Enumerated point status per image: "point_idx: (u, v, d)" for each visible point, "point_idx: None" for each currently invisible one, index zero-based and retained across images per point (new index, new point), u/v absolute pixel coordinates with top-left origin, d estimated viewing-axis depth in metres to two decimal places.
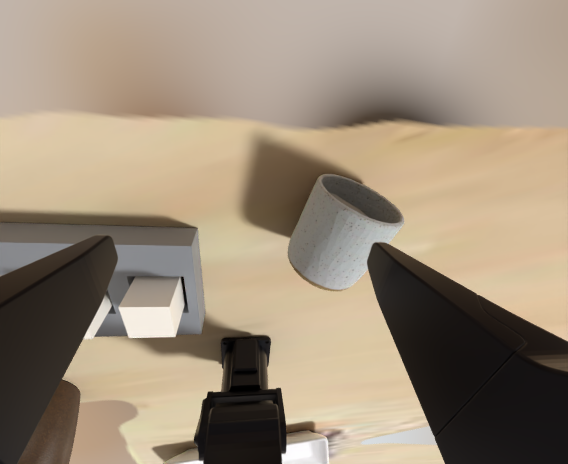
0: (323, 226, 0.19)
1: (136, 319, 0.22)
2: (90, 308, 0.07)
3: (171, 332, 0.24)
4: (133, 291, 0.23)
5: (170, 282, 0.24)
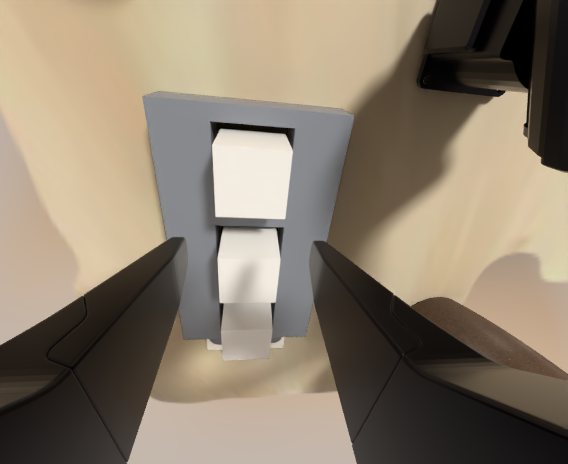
0: None
1: (243, 200, 0.14)
2: (174, 307, 0.08)
3: (279, 155, 0.13)
4: None
5: None
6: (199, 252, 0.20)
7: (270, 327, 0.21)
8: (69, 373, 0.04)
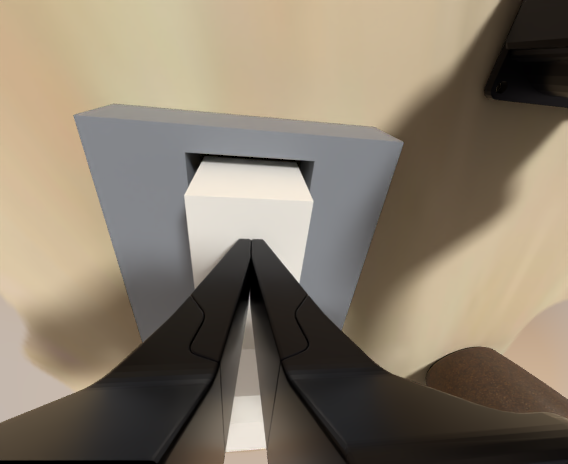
0: None
1: None
2: (247, 306, 0.08)
3: (292, 207, 0.08)
4: None
5: None
6: None
7: None
8: (217, 367, 0.04)
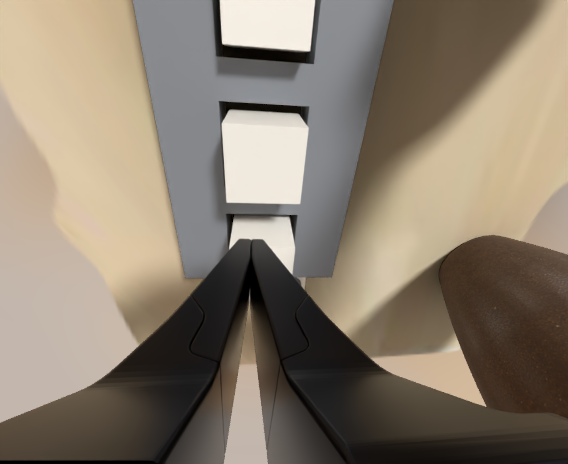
0: None
1: (256, 16, 0.11)
2: (247, 306, 0.08)
3: None
4: None
5: None
6: (199, 145, 0.15)
7: (292, 246, 0.16)
8: (217, 367, 0.04)
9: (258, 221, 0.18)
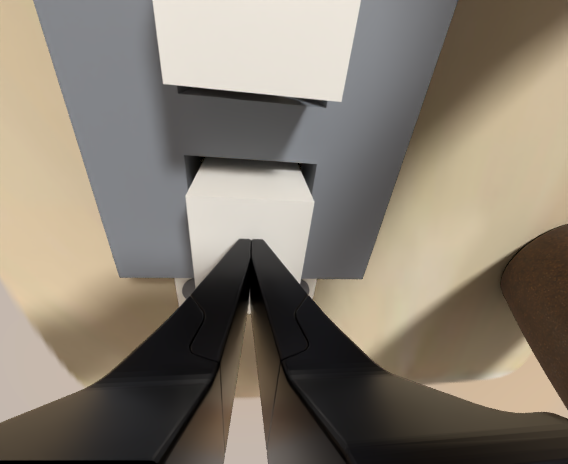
0: None
1: None
2: (247, 306, 0.08)
3: None
4: None
5: None
6: None
7: (308, 199, 0.09)
8: (217, 367, 0.04)
9: (246, 166, 0.11)
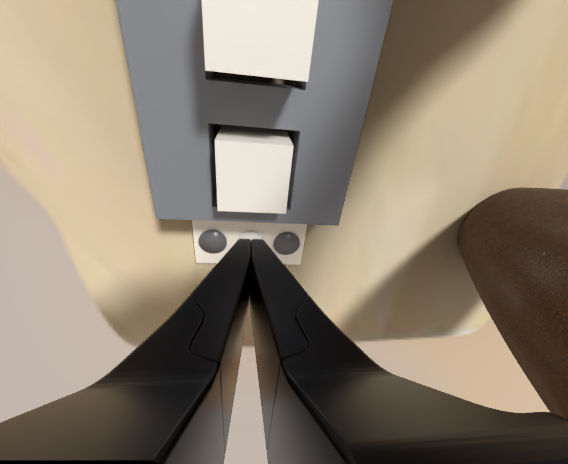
0: None
1: None
2: (247, 306, 0.08)
3: None
4: None
5: None
6: (170, 8, 0.11)
7: (290, 145, 0.14)
8: (217, 367, 0.04)
9: (250, 129, 0.16)
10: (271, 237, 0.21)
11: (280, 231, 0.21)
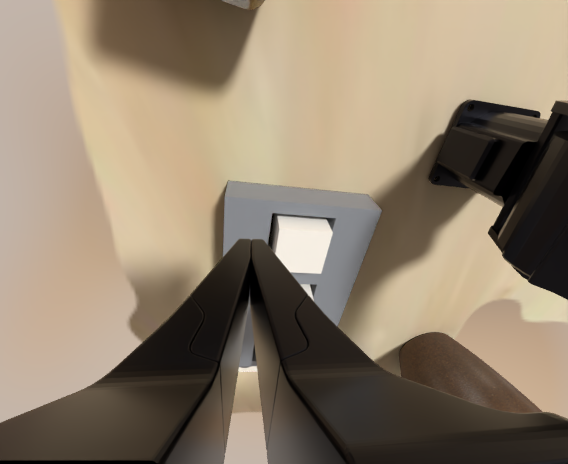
0: None
1: (293, 261, 0.20)
2: (247, 306, 0.08)
3: (323, 235, 0.19)
4: None
5: (275, 217, 0.21)
6: None
7: None
8: (217, 367, 0.04)
9: None
10: None
11: None
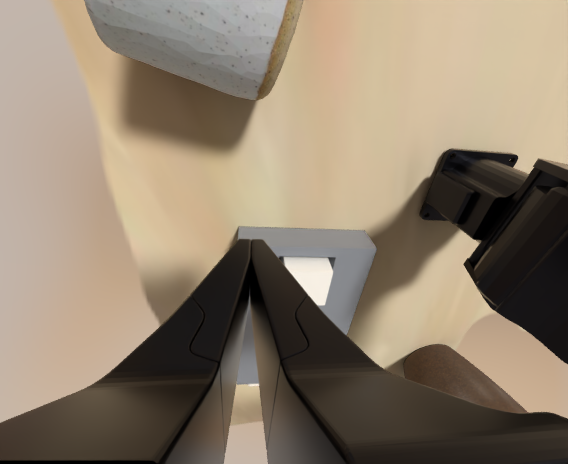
0: (149, 48, 0.11)
1: None
2: (247, 306, 0.08)
3: (324, 274, 0.22)
4: None
5: (281, 256, 0.24)
6: None
7: None
8: (217, 367, 0.04)
9: None
10: None
11: None
